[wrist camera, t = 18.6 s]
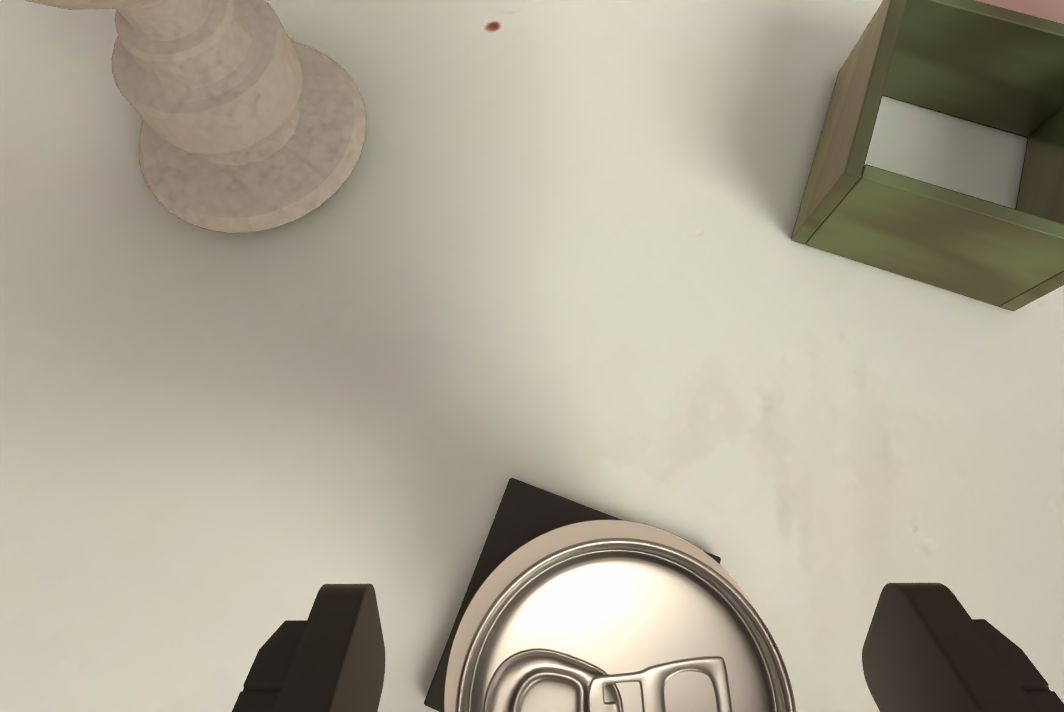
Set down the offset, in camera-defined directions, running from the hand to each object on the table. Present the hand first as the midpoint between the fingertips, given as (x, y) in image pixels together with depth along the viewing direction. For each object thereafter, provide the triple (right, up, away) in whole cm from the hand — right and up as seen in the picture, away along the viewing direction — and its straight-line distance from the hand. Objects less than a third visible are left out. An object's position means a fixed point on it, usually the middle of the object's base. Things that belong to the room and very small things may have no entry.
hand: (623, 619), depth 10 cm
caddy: (+15, +12, +18) cm, 26 cm away
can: (0, -5, +12) cm, 13 cm away
